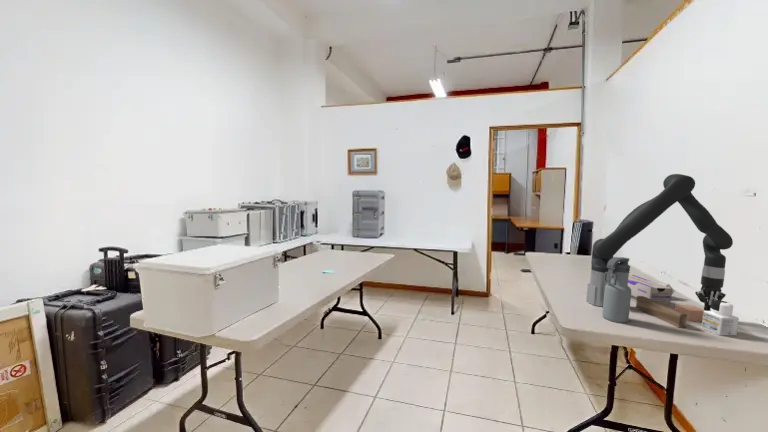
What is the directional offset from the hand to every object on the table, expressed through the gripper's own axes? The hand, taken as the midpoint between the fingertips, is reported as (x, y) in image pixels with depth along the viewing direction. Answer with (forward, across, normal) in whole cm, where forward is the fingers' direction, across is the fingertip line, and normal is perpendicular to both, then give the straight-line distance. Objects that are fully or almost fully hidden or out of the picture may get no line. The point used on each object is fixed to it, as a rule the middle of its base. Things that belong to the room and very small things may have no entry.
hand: (707, 312), depth 159 cm
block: (+3, -8, 0) cm, 9 cm away
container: (+3, -10, -15) cm, 19 cm away
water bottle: (+3, -47, -4) cm, 48 cm away
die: (+3, +5, +30) cm, 30 cm away
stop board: (+3, -23, 0) cm, 24 cm away
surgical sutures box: (+3, -13, +24) cm, 28 cm away
